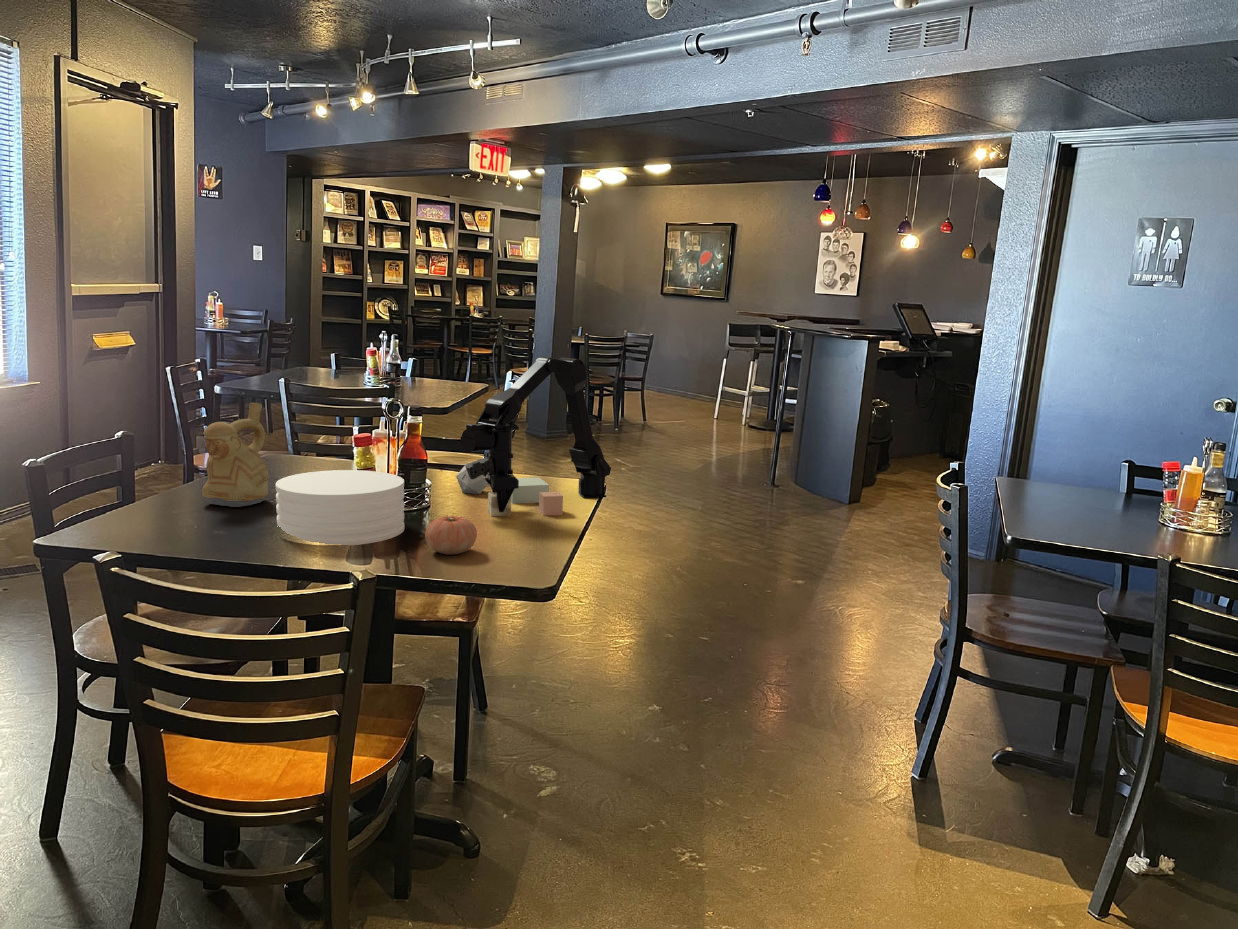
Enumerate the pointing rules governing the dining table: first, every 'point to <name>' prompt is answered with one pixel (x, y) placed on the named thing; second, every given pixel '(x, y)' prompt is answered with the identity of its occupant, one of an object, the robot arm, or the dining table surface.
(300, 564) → the dining table surface
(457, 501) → the dining table surface
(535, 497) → the sage block
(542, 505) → the terracotta cube
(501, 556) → the dining table surface
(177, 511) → the dining table surface
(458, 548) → the pumpkin
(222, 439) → the ceramic vessel
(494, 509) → the birch cube
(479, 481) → the die
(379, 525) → the plate stack
